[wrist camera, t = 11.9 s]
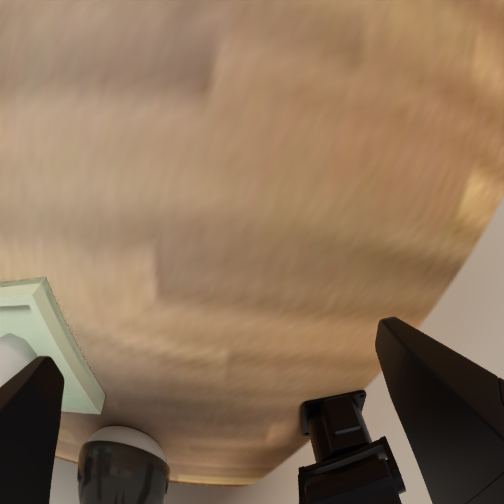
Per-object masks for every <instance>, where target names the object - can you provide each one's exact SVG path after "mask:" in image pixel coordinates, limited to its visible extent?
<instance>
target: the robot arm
mask: <svg viewBox="0 0 504 504" xmlns="http://www.w3.org/2000/svg"><path fill="white" fill-rule="evenodd" d="M375 348H376V353H377V356H378V359H379V362H380V365H381V368H382V371H383V375H384V378H385V381H386V384H387V388H388V391H389V394H390V397H391V399H392V402H393V405H394V407H395V410H396V412H397V414H398V416H399V419H400V421H401V424H402V426H403V428H404V431H405V433H406V435H407V438H408V441H409V443H410V445H411V448H412V450H413V453H414V455H415V458H416V460H417V463H418V466H419V468H420V471H421V473H422V476H423V479H424V481H425V484H426V486H427V489H428V492H429V495H430V498H431V500H432V503H433V504H504V380H503V379H501V378H498V377H497V376H496V375H495V374H493V373H491V372H489V371H488V370H486V369H484V368H483V367H481V366H479V365H477V364H476V363H474V362H472V361H471V360H469V359H467V358H466V357H464V356H462V355H460V354H459V353H457V352H455V351H453V350H452V349H450V348H448V347H447V346H445V345H443V344H442V343H440V342H438V341H436V340H435V339H433V338H431V337H429V336H428V335H426V334H424V333H422V332H421V331H419V330H417V329H416V328H414V327H412V326H410V325H409V324H407V323H405V322H403V321H402V320H400V319H398V318H396V317H389V318H385V319H381V320H380V321H379V324H378V329H377V335H376V341H375ZM64 383H65V382H64V377H63V374H62V373H61V371H60V370H59V368H58V366H57V365H56V363H55V362H54V360H53V359H52V358H51V357H50V356H38V357H36V358H35V359H34V360H33V361H31V362H30V363H29V364H28V365H26V366H25V367H24V368H23V369H22V370H20V371H19V372H18V373H17V374H16V375H14V376H13V377H12V378H11V379H10V380H8V381H7V382H6V383H5V384H4V385H2V386H1V387H0V504H49V499H50V489H51V480H52V472H53V465H54V458H55V451H56V445H57V439H58V434H59V427H60V419H61V409H62V400H63V391H64ZM365 398H366V392H365V390H360V391H356V392H351V393H347V394H342V395H337V396H333V397H328V398H322V399H317V400H312V401H307V402H305V403H303V413H302V435H303V436H308V435H310V439H311V443H312V447H313V451H314V455H315V460H316V463H315V464H312V465H309V466H306V467H304V466H303V467H300V468H299V475H298V485H299V504H402V503H401V500H400V498H399V495H398V494H401V493H403V492H405V491H406V489H405V485H404V482H403V479H402V476H401V474H400V471H399V468H398V466H397V463H396V461H395V459H394V456H393V454H392V451H391V449H390V446H389V444H388V442H387V439H386V437H385V436H384V437H381V438H380V439H379V440H376V441H374V442H372V440H371V438H370V435H369V432H368V430H367V427H366V424H365V421H364V419H363V416H362V413H361V412H362V409H363V405H364V402H365ZM386 458H387V460H386Z"/></svg>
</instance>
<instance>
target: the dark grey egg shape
mask: <svg viewBox="0 0 504 504" xmlns="http://www.w3.org/2000/svg"><path fill="white" fill-rule="evenodd" d="M169 479H170V468H169V466H168V464H167V461H166V457H165V455H164V452H163V450H162V449H161V447H160V446H159V445H158V443H157V442H156V441H155V440H153V439H152V438H151V437H150V436H148V435H146V434H145V433H143V432H141V431H138V430H136V429H133V428H129V427H124V426H109V427H104V428H101V429H99V430H97V431H96V432H94V433H93V434H92V435H91V436H90V437H89V439H88V440H87V442H86V443H84V444H83V445H82V447H81V449H80V453H79V459H78V475H77V480H78V481H77V482H78V495H79V502H80V504H163V503H164V501H165V497H166V493H167V489H168V485H169Z"/></svg>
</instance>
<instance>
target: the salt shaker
mask: <svg viewBox="0 0 504 504" xmlns="http://www.w3.org/2000/svg"><path fill="white" fill-rule="evenodd" d="M36 357H37V353H36V352H35V351H34V350H33V349H32V347H31V346H30V345H29V344H28V342H27V341H26V340H25V339H23V338H21V337H18V336H16V335H14V334H11V333H8V334H6V335H4V336H2V337H0V387H1V386H2V385H4V384H5V383H6V382H7V381H8V380H10V379H11V378H12V377H13V376H14V375H16V374H17V373H18V372H19V371H20V370H22V369H23V368H24V367H25V366H26V365H28V364H29V363H30V362H31V361H33V360H34V359H35V358H36Z"/></svg>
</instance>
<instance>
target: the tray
mask: <svg viewBox="0 0 504 504" xmlns="http://www.w3.org/2000/svg"><path fill="white" fill-rule="evenodd" d="M8 333H11V334H14V335H16V336H18V337H21V338H23V339H25V340H26V341H27V342H28V344H29V345H30V346H31V347H32V349H33V350H34V351H35V352H36V353H37V357H38V356H50V357H51V358H52V359H53V360H54V362H55V363H56V365H57V366H58V368H59V370H60V371H61V373H62V374H63V377H64V382H65V383H64V391H63V400H62V409H61V411H65V412H75V413H86V414H101V411H102V408H103V404H104V400H105V397H106V395H105V393H104V392H103V390H102V389H101V387H100V385H99V384H98V382H97V380H96V379H95V377H94V375H93V373H92V372H91V370H90V368H89V366H88V365H87V363H86V361H85V359H84V357H83V355H82V354H81V352H80V350H79V348H78V346H77V344H76V342H75V340H74V338H73V336H72V334H71V332H70V330H69V328H68V326H67V324H66V322H65V320H64V318H63V316H62V314H61V311H60V309H59V307H58V305H57V302H56V300H55V298H54V296H53V293H52V291H51V289H50V286H49V284H48V281H47V279H46V277H44V278H36V279H27V280H19V281H10V282H2V283H0V337H2V336H4V335H6V334H8Z"/></svg>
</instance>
